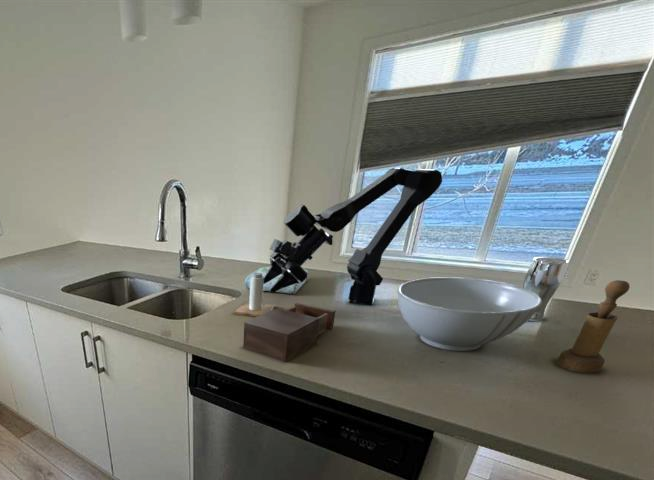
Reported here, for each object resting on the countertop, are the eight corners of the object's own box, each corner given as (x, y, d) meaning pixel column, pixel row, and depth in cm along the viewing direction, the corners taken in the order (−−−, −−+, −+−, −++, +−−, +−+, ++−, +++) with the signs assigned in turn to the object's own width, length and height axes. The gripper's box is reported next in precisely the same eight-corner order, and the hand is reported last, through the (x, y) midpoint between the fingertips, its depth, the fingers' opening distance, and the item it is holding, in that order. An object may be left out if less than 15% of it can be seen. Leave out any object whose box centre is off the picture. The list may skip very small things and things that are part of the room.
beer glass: (537, 312, 109) (561, 256, 101) (550, 322, 103) (576, 263, 96) (506, 312, 111) (527, 256, 104) (517, 321, 105) (540, 263, 98)
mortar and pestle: (547, 360, 87) (585, 278, 78) (576, 357, 87) (617, 274, 78) (579, 375, 81) (624, 287, 72) (609, 371, 81) (658, 283, 72)
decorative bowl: (538, 372, 83) (563, 317, 77) (390, 357, 94) (402, 307, 88) (503, 325, 104) (520, 279, 98) (384, 317, 115) (394, 275, 109)
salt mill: (264, 308, 127) (266, 274, 121) (253, 311, 126) (255, 276, 120) (257, 305, 130) (259, 271, 125) (246, 307, 129) (248, 273, 124)
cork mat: (275, 307, 129) (275, 305, 129) (265, 317, 122) (265, 315, 122) (245, 304, 134) (245, 301, 134) (234, 313, 127) (234, 311, 127)
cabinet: (274, 332, 112) (276, 307, 109) (315, 344, 103) (319, 318, 100) (243, 347, 105) (244, 322, 102) (285, 361, 96) (287, 334, 93)
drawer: (297, 319, 117) (299, 301, 114) (335, 328, 109) (338, 309, 106) (269, 333, 110) (270, 314, 107) (307, 344, 102) (309, 324, 99)
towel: (308, 279, 153) (310, 266, 150) (294, 296, 137) (296, 281, 135) (261, 276, 161) (262, 263, 159) (243, 291, 146) (243, 277, 144)
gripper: (278, 224, 124) (242, 263, 130) (300, 233, 108) (257, 278, 114) (301, 247, 128) (265, 285, 134) (325, 260, 112) (283, 302, 117)
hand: (266, 287), depth 125 cm, fingers open, 9 cm apart
